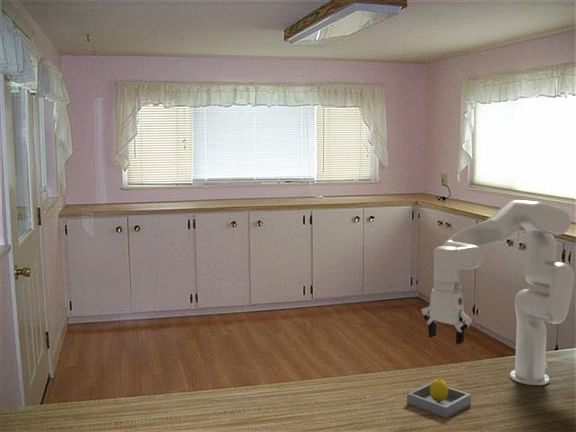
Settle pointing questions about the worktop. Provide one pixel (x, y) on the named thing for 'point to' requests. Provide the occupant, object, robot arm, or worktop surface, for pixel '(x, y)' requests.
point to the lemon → (438, 390)
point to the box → (443, 409)
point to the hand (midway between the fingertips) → (445, 339)
